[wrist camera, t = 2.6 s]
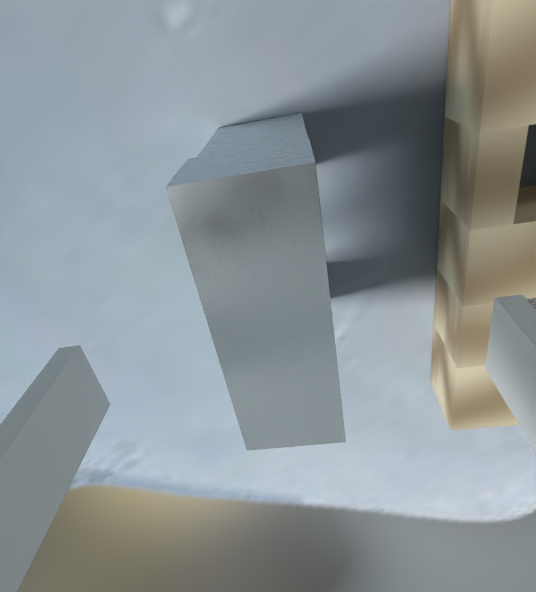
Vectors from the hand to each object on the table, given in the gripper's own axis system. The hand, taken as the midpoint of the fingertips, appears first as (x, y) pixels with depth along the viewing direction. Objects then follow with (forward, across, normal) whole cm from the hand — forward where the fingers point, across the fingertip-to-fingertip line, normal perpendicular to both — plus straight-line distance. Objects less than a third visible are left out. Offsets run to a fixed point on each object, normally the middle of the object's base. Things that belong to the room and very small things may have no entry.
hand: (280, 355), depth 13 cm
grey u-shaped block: (+10, 0, 0) cm, 11 cm away
